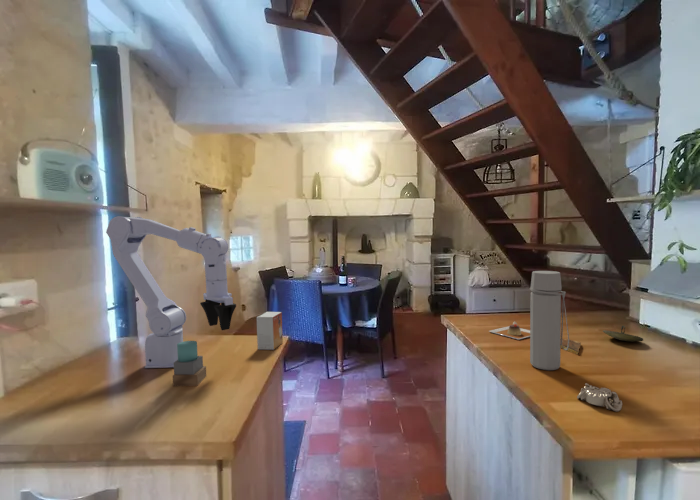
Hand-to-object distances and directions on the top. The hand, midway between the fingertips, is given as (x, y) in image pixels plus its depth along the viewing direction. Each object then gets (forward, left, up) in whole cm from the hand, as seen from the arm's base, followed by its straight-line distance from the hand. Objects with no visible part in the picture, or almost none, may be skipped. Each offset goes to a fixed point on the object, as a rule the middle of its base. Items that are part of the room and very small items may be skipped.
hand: (219, 327), depth 109 cm
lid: (+123, +10, -11) cm, 124 cm away
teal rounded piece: (-4, -12, -5) cm, 14 cm away
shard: (+104, +6, -11) cm, 105 cm away
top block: (-4, -12, -8) cm, 15 cm away
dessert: (+94, +22, -11) cm, 97 cm away
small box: (+11, +15, -11) cm, 21 cm away
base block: (-4, -12, -11) cm, 17 cm away
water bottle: (+89, -9, -11) cm, 90 cm away
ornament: (+89, -30, -11) cm, 94 cm away
